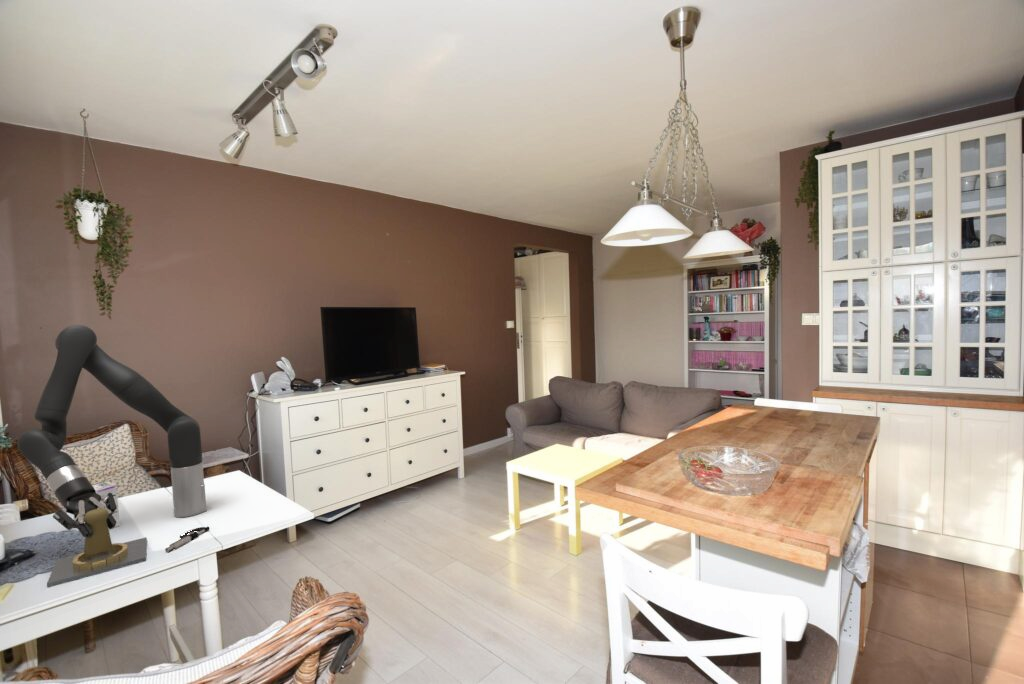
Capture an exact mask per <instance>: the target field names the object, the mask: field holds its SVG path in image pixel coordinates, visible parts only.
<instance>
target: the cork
mask: <svg viewBox="0 0 1024 684" xmlns="http://www.w3.org/2000/svg"><path fill="white" fill-rule="evenodd" d="M108 515H109V514H108V511H107V510H106V509H103V508H101V509H95V510H91V511H89V512H87V513H86V514H85V516H84V520H85V522H84V523H87V524H88V525H89V527H90V528H91V530H92V531H93V534H92V536H91V537H89V538H86V537H84V547H83V552H84V553H85V554H93V553H98V552H101V551H104V550H107V549H109V548H110V547H112V544H113V542H112V539H111V535H110V530H108V525H107V521H106V519H107V518H108Z"/></svg>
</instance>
